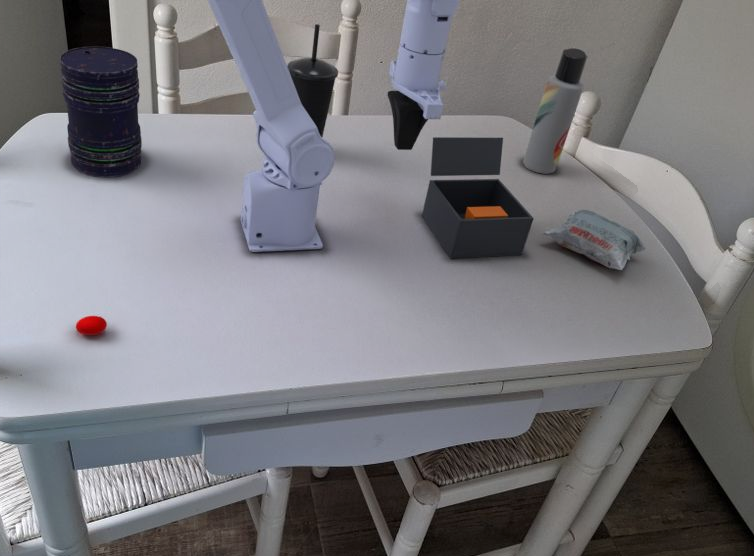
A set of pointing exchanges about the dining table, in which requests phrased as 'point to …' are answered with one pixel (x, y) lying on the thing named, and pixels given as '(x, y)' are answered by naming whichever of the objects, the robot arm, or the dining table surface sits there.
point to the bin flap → (466, 156)
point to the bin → (475, 234)
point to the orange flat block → (485, 212)
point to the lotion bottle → (556, 113)
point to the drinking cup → (314, 84)
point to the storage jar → (102, 110)
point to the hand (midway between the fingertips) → (403, 147)
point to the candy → (91, 325)
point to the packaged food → (597, 239)
